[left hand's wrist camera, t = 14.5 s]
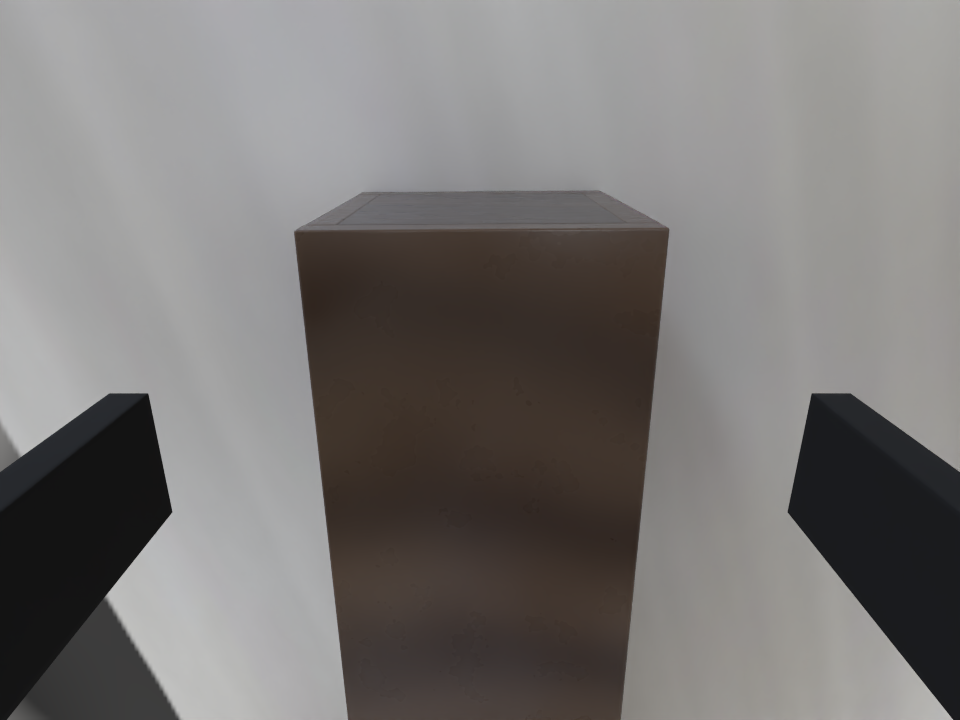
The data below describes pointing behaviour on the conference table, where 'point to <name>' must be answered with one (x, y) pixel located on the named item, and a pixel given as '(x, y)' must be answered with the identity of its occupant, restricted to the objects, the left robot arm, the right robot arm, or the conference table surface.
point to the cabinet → (483, 444)
